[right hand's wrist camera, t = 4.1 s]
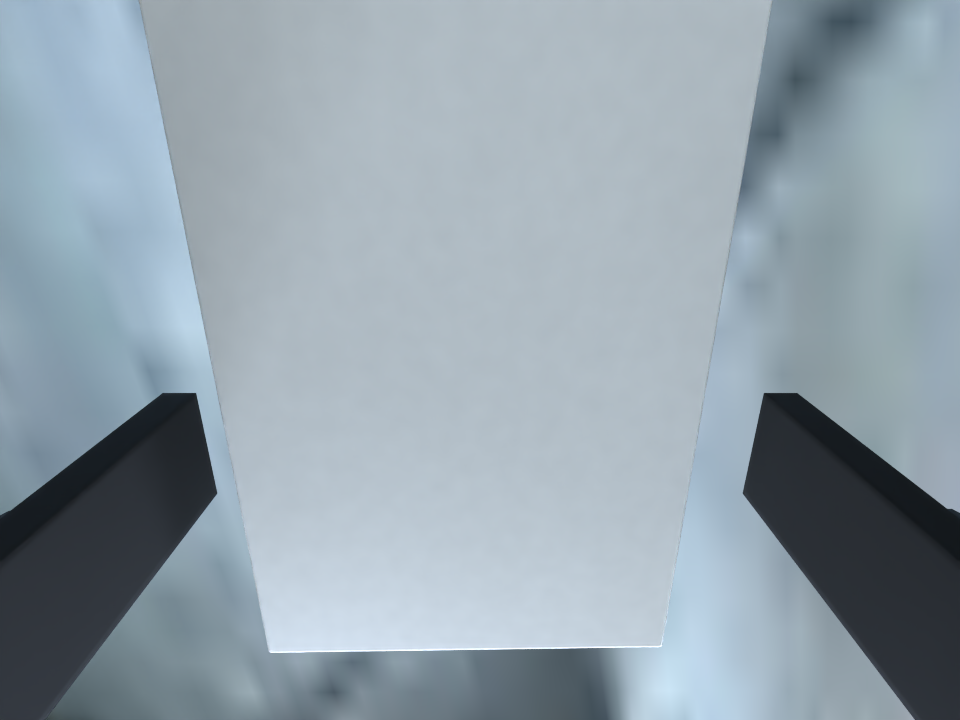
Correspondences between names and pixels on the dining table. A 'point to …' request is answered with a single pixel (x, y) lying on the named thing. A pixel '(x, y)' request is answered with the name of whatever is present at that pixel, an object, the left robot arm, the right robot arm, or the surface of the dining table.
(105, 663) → the dining table surface
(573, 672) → the dining table surface
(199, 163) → the long white beam
